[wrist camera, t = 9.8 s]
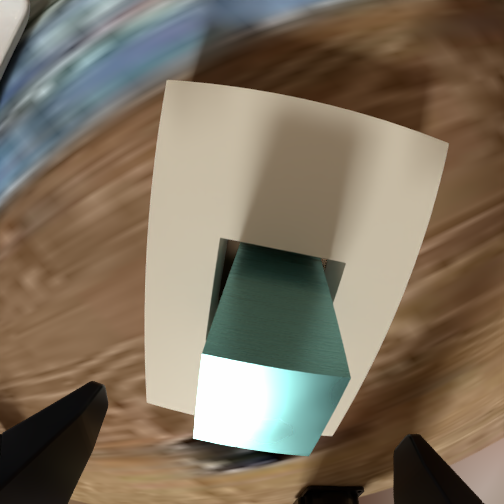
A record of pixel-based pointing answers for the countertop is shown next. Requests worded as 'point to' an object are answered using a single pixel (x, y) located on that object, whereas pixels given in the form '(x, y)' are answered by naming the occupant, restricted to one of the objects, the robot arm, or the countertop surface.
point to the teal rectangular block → (271, 356)
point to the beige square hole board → (278, 218)
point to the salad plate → (11, 27)
